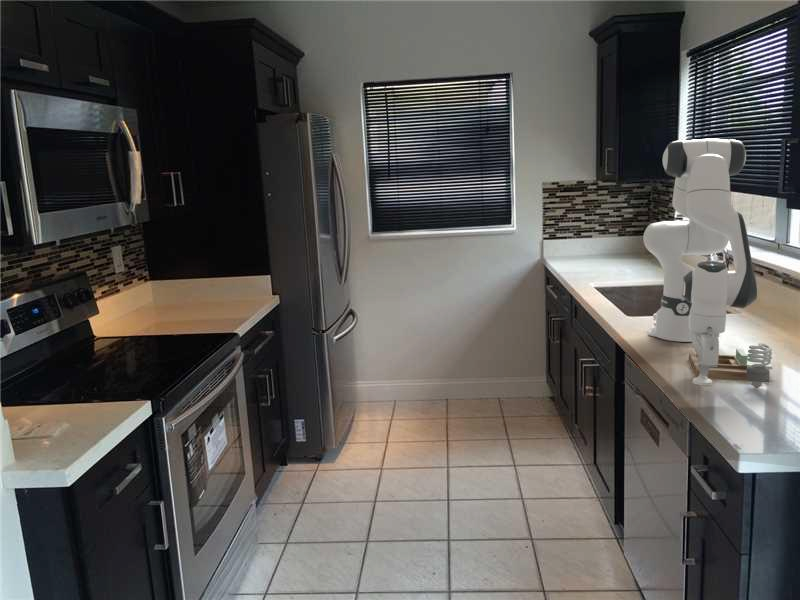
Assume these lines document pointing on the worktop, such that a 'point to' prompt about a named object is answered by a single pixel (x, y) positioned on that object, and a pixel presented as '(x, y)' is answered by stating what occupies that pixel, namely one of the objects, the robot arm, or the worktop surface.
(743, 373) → the board
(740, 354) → the cover
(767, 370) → the light bulb
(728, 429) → the worktop surface
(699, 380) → the chess piece
